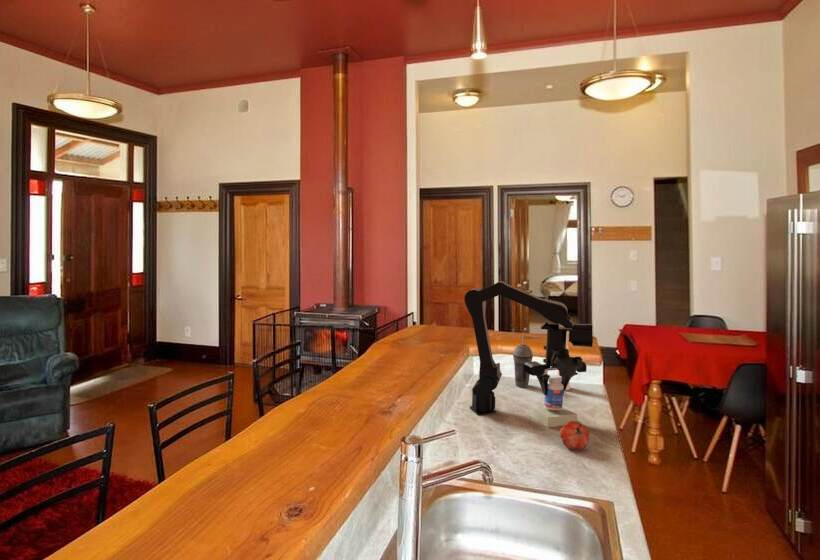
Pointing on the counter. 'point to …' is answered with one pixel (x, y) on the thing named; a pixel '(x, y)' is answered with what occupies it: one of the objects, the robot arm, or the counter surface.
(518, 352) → the beverage cup
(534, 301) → the robot arm
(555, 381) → the pill bottle
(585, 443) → the pomegranate
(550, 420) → the plinth
